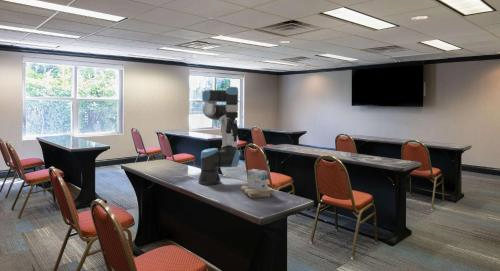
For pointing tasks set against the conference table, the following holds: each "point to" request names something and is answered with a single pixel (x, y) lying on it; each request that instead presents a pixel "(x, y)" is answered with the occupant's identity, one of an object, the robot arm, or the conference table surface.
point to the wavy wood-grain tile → (257, 192)
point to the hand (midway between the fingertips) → (231, 144)
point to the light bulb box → (257, 179)
